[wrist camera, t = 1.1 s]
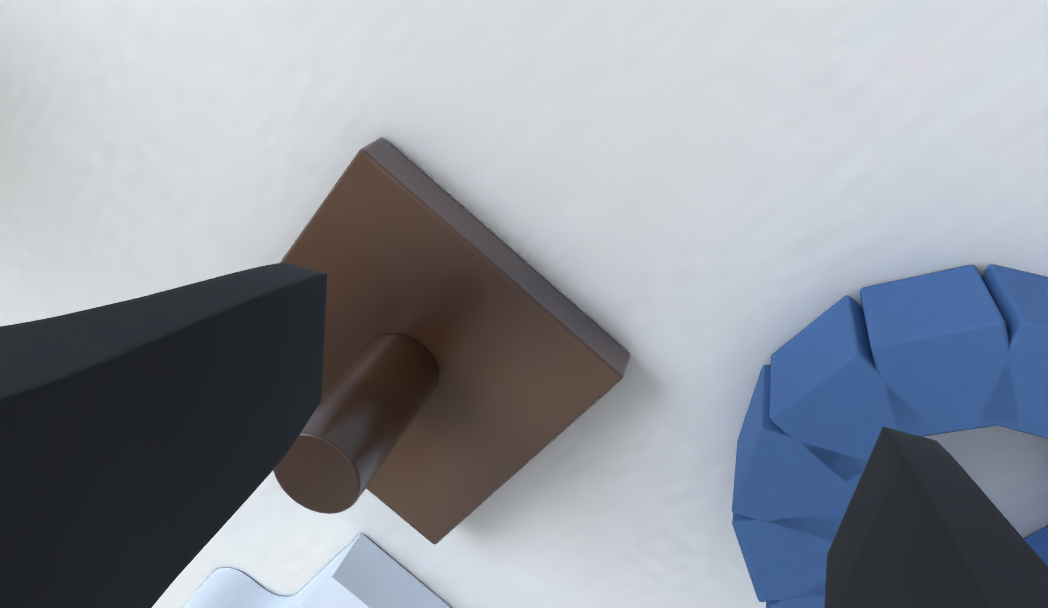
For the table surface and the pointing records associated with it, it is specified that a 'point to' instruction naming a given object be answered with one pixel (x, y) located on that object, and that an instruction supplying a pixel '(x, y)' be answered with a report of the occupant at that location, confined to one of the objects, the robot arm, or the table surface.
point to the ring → (879, 407)
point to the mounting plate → (326, 585)
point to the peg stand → (432, 352)
